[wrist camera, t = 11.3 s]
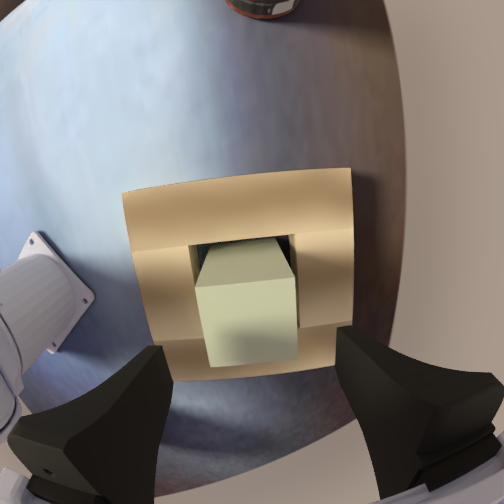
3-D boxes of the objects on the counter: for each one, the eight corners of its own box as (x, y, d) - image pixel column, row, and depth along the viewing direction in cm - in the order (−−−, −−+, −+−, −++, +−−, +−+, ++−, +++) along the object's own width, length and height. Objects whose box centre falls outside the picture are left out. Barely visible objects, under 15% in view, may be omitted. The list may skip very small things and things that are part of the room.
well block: (338, 341, 23) (349, 362, 20) (172, 359, 23) (165, 381, 20) (335, 168, 20) (350, 167, 17) (137, 189, 20) (121, 193, 17)
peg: (279, 296, 22) (298, 358, 14) (219, 302, 22) (210, 367, 14) (274, 237, 21) (294, 277, 13) (210, 244, 21) (194, 287, 13)
